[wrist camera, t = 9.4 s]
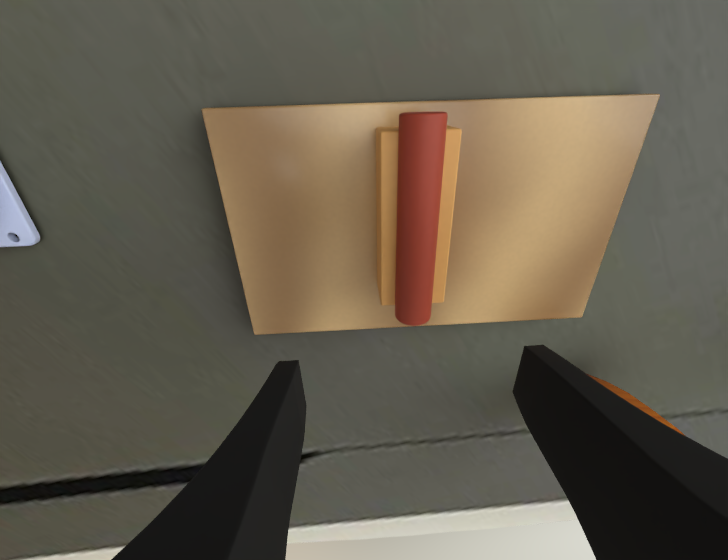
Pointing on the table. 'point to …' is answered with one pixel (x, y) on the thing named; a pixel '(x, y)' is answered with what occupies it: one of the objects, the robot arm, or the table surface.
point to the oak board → (470, 215)
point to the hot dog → (415, 211)
